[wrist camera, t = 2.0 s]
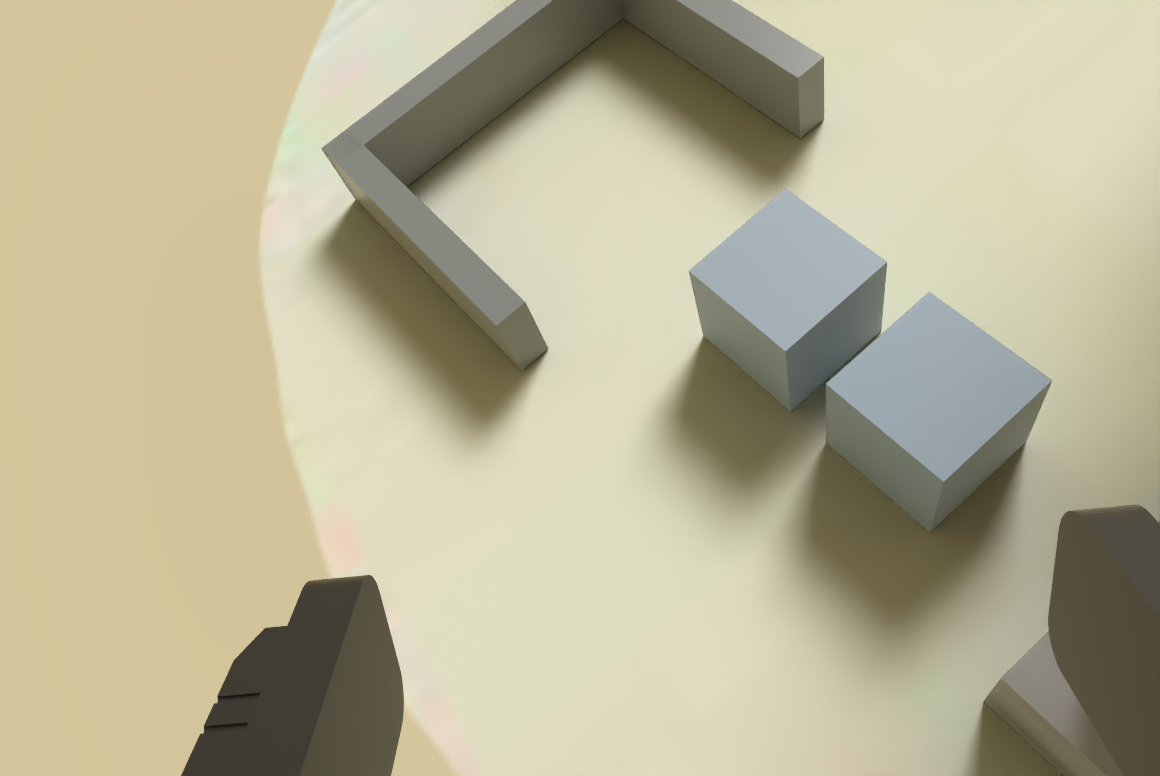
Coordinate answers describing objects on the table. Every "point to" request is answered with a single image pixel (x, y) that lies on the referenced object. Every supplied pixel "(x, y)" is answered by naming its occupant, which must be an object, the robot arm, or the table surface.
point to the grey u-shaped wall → (505, 74)
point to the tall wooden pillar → (1050, 715)
